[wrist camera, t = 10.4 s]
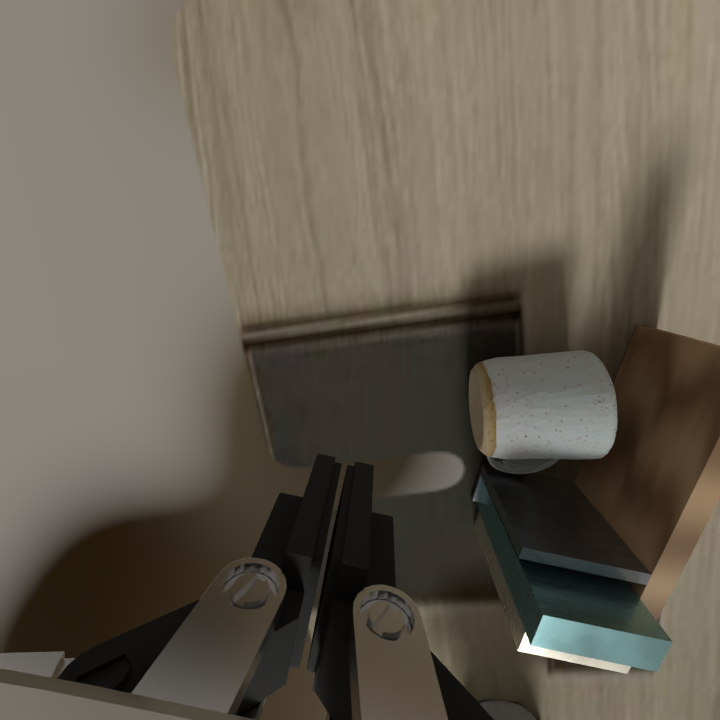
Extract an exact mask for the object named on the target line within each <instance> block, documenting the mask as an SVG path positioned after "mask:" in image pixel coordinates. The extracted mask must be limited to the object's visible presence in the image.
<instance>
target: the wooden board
mask: <svg viewBox="0 0 720 720" xmlns="http://www.w3.org/2000/svg"><path fill="white" fill-rule="evenodd" d="M613 386H614V389H615V393H616V401H617V420H618V423H617V431H616V436H615V440H614V443H613V445H612V447H611V449H610V451H609V452H608V454H606V455H605V456H604V457H602V458H600V459H583V461H582V464H581V466H580V469H579V471H578V474H577V476H576V479H575V481H574V483H575V484H576V486H577V487H578V488H579V489H580V490H581V492H582V493H583V494H584V495H585V496H586V497H587V499H588V500H589V501H590V502H591V503H592V505H593V506H594V507H595V508H596V509H597V510H598V512H599V513H600V514H601V515H602V516H603V517H604V519H605V520H606V521H607V522H608V523H609V525H610V526H611V527H612V528H613V529H614V530H615V532H616V533H617V534H618V535H619V536H620V538H621V539H622V540H623V541H624V542H625V543H626V545H627V546H628V547H629V548H630V549H631V551H632V552H633V553H634V554H635V555H636V556H637V558H638V559H639V560H640V561H641V562H642V563H643V565H644V566H645V567H646V568H647V569H648V571H649V572H650V573H651V574H652V576H651V578H650V580H649V582H648V584H647V585H644V584H639V583H634V582H630V581H627V582H628V583H629V585H630V586H631V587H632V589H633V590H634V591H635V593H636V594H637V595H638V597H639V598H640V599H641V601H642V602H643V603H644V605H645V606H646V607H647V609H648V610H649V611H650V613H651V614H652V615H653V617H654V618H655V619H656V621H657V619H658V617H659V615H660V613H661V611H662V610H663V608H664V606H665V604H666V602H667V600H668V598H669V596H670V594H671V592H672V590H673V588H674V586H675V584H676V582H677V580H678V578H679V577H680V575H681V573H682V571H683V569H684V567H685V565H686V563H687V561H688V559H689V557H690V555H691V553H692V551H693V549H694V547H695V545H696V544H697V542H698V540H699V538H700V536H701V534H702V532H703V530H704V528H705V526H706V524H707V522H708V520H709V518H710V516H711V514H712V512H713V510H714V509H715V507H716V505H717V503H718V501H719V499H720V346H719V345H715V344H712V343H708V342H704V341H700V340H697V339H693V338H689V337H686V336H682V335H678V334H674V333H671V332H667V331H663V330H659V329H655V328H651V327H646V326H641V325H636V328H635V330H634V333H633V335H632V338H631V340H630V343H629V345H628V348H627V350H626V353H625V355H624V358H623V360H622V363H621V365H620V368H619V370H618V373H617V375H616V378H615V381H614V383H613Z"/></svg>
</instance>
